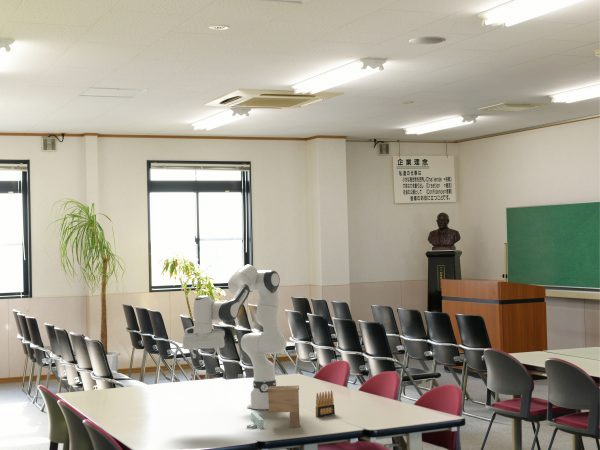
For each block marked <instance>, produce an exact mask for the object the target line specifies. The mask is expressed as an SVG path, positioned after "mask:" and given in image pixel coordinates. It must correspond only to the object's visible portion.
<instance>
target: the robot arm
mask: <svg viewBox="0 0 600 450" xmlns="http://www.w3.org/2000/svg"><path fill="white" fill-rule="evenodd" d="M280 281H281V279H280V275H279V273H278V271H276V270H273V269H267V270H266V269H260V270H257V268H256V267H255V266H254V265H252V264H245V265H244V266H242V267H240V268H239V269H238V270H236V272H234V274H232V275H231V277H230V278H229V280H228V283H227V286H228V290H229V292H230V293H231V294H232V295H233V297H232V298H231V300H227V301H216V300H214V299H213V298H211V296H210V295H208V294H206V295H204V294H203V295H199V296H196V297H195V298H194V301H193V317H194V320H193V321H194V322H193V326H190V327H188V328H186V329H185V330H184V336H183V339H182V348H183V349H184V350H189V351H190V353H191V355H192V359H196V358H197V355H196V353H194V350H197V349H214V353H212V354H211V355H212V356H211V357H212V358H216V354H217V353H218V352H217V351H218V349H222V348H224V347H225V345H226V344H225V343H226V342H225V339H224V338H225V336H226V331H225V330H224V329H222V328H213V322H224V323H225V322H226V323H231V322H233V321H235V320H236V319H237V317H238V316H239V315H238V314H239V313H240V310H241V309H242V306H244V304H245V302H246V300H247V299H248V298H249V294H250V293H252V292H255V293H256V292H258V299H257V304H256V312H255V313H256V314H255V320H256V323H257V324H259V326H261V327H262V330H263V331H262V332H250V333H249V332H248V333H245V334H243V336H242V337H241V340H240V347H241V349H242V351H243V352H244V353H246V355H247V356H248V357H249V359H250V361H251V363H252V369H253V383H252V387H253V389H252V390H251V391H250V404H248V405H247V409H252V410H253V409H254V410H269V398H268V387H270V386H277V380H276V369H275V368H276V367H275V364H274V363H273V362H272V361H270V359H268V357H267V355H268V354H269V355H276V354H281V353H283V352H284V351H285V350H286V347H287V339H286V337H285V336H284V335H283V333H281V331H280V329H279V327H278V309H279V292H278V288H279V286H280Z"/></svg>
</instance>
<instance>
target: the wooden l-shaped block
mask: <svg viewBox="0 0 600 450" xmlns="http://www.w3.org/2000/svg"><path fill="white" fill-rule="evenodd" d="M299 390H300V385H279V386H278V385H276V386H270V387H268V398H269V409H268V414H271V413H272V414H273V413H289V428H300V427H301V423H300V422H301V420H300V398H299V397H300V395H299V394H300V392H299Z"/></svg>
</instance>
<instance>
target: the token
mask: <svg viewBox="0 0 600 450" xmlns="http://www.w3.org/2000/svg"><path fill="white" fill-rule="evenodd" d="M257 427H258V426H257V425H256V424H255V423H254V424H247V425H246V429H248V428H255V429H257Z"/></svg>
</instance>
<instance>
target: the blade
mask: <svg viewBox="0 0 600 450" xmlns="http://www.w3.org/2000/svg"><path fill="white" fill-rule="evenodd" d="M250 418H251V419H250V420H251V421H252V422H253V423H254V422H255V423H256V424H257V425H258V426H259V427H260V428H259V427H258V426H257V427H258V428H259V429H263V428H262V427H264V428H265V420H264V419H263V417H261V415H259V414H258V413H257V412H256V411H251V412H250ZM255 423H254V424H255Z"/></svg>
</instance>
